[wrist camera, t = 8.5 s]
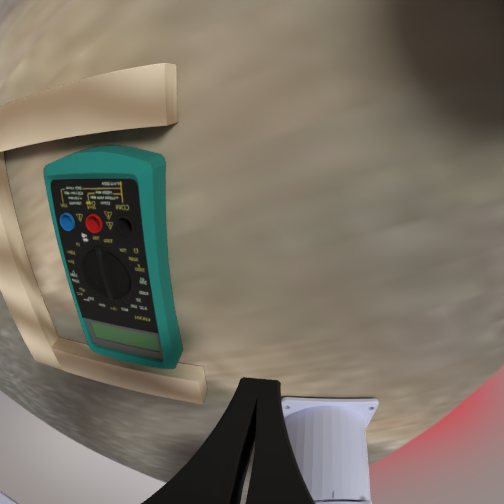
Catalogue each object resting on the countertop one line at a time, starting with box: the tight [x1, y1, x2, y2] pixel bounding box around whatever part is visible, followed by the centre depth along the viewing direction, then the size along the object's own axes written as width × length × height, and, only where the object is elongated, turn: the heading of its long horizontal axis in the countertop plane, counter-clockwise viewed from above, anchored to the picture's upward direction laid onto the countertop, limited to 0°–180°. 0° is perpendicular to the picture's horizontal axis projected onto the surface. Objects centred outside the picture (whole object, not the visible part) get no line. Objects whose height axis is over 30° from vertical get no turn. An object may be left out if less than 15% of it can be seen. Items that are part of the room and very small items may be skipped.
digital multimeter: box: [44, 145, 183, 369], centre depth 18 cm, size 7×15×3 cm, turn 178°
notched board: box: [0, 63, 207, 404], centre depth 17 cm, size 23×18×6 cm
